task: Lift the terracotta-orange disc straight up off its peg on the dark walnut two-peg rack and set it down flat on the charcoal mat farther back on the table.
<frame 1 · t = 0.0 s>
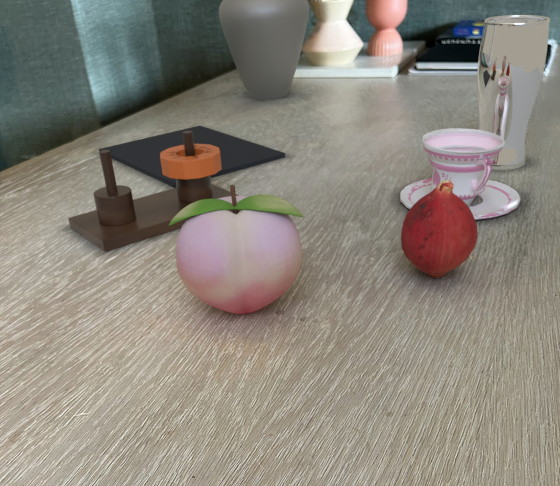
mat: (189, 155, 87), on the table
decorative fruit: (243, 313, 52), on the table
disc: (192, 169, 69), point 4 cm above the table, touching rack
teacup: (458, 202, 69), on the table
vase: (268, 97, 114), on the table
pomegranate: (434, 279, 55), on the table
rack: (159, 218, 69), on the table
beer glass: (497, 164, 79), on the table
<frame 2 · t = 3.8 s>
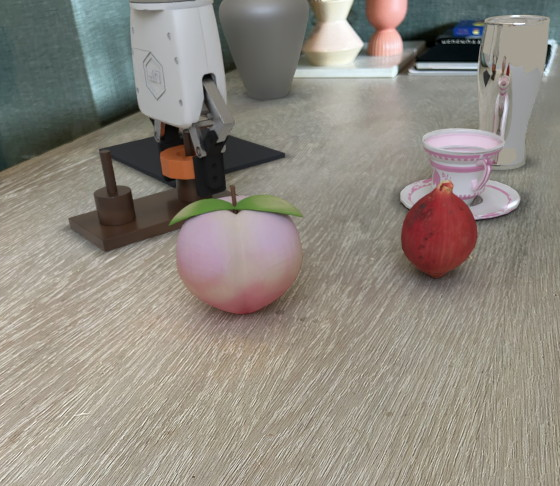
hand: (193, 184, 70), 2 cm above the table, tool pointing down, fingers closed on disc, 6 cm apart
disc: (192, 169, 69), point 4 cm above the table, touching gripper, rack
everything else where it was.
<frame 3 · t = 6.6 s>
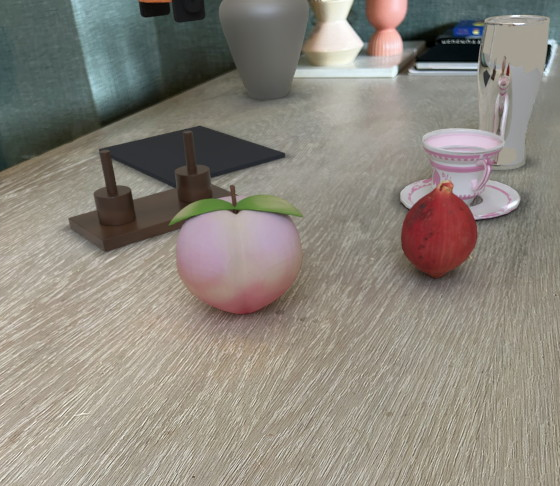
hand: (172, 16, 66), 17 cm above the table, tool pointing down, fingers closed on disc, 6 cm apart
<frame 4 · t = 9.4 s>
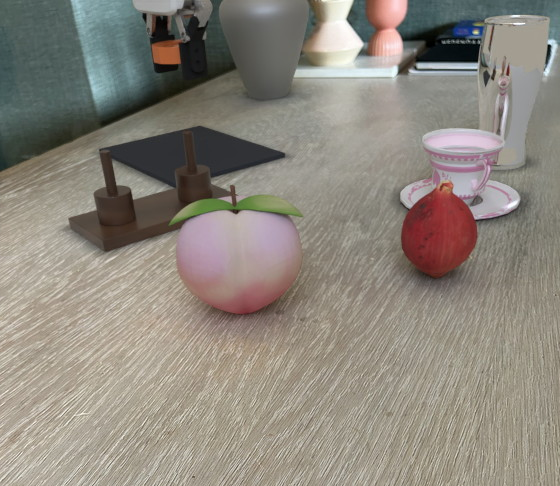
hand: (180, 73, 81), 10 cm above the table, tool pointing down, fingers closed on disc, 6 cm apart
disc: (179, 59, 81), point 11 cm above the table, touching gripper
everything else where it was.
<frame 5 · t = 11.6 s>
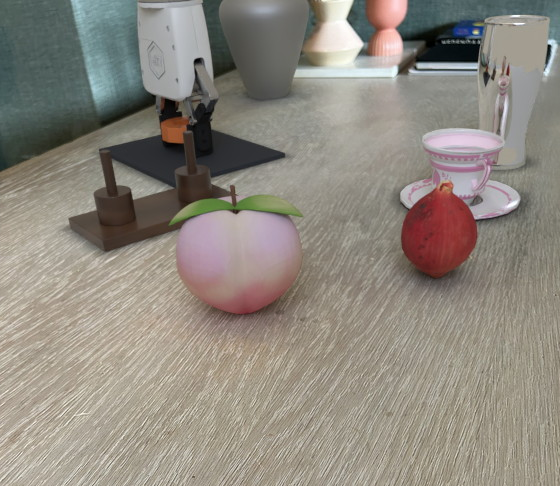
hand: (187, 148, 86), 1 cm above the table, tool pointing down, fingers closed on disc, 6 cm apart
disc: (186, 136, 86), point 2 cm above the table, touching gripper
everything else where it was.
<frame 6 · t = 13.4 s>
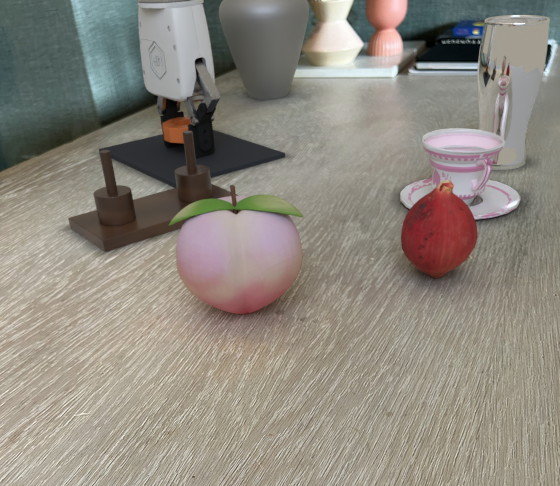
hand: (189, 148, 86), 1 cm above the table, tool pointing down, fingers closed on disc, 6 cm apart
disc: (188, 136, 86), point 2 cm above the table, touching gripper
everything else where it was.
when the fingers open (1 cm above the table, at t = 15.2 s): disc drops 2 cm, resting on mat.
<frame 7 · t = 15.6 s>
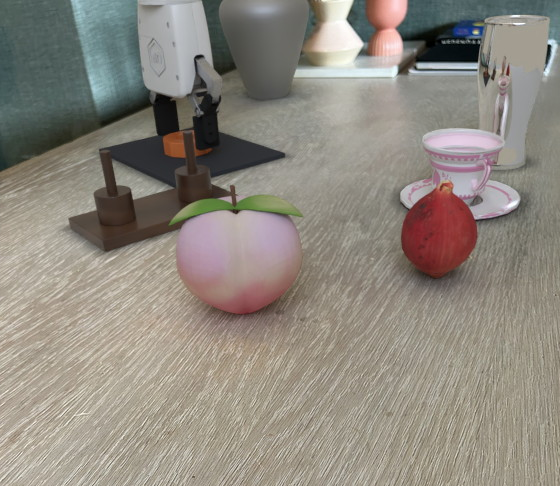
hand: (187, 140, 86), 2 cm above the table, tool pointing down, fingers open, 9 cm apart
disc: (188, 150, 87), point 1 cm above the table, touching mat
everything else where it was.
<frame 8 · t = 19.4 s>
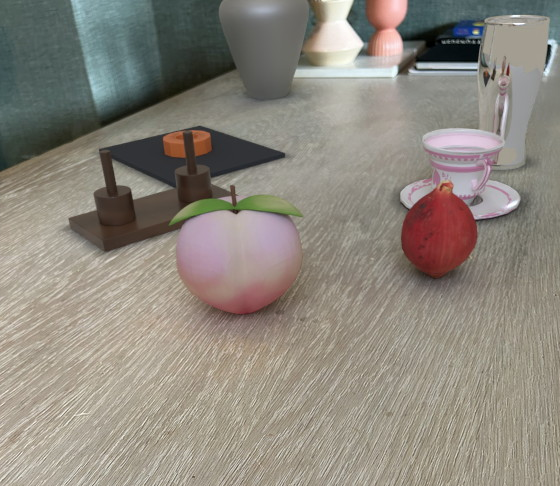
nothing on the table moved.
at the end: disc inside the target area on the mat (0.1 cm from its centre), point 0.6 cm above the mat's base; disc touching mat; disc tilted 0° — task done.
